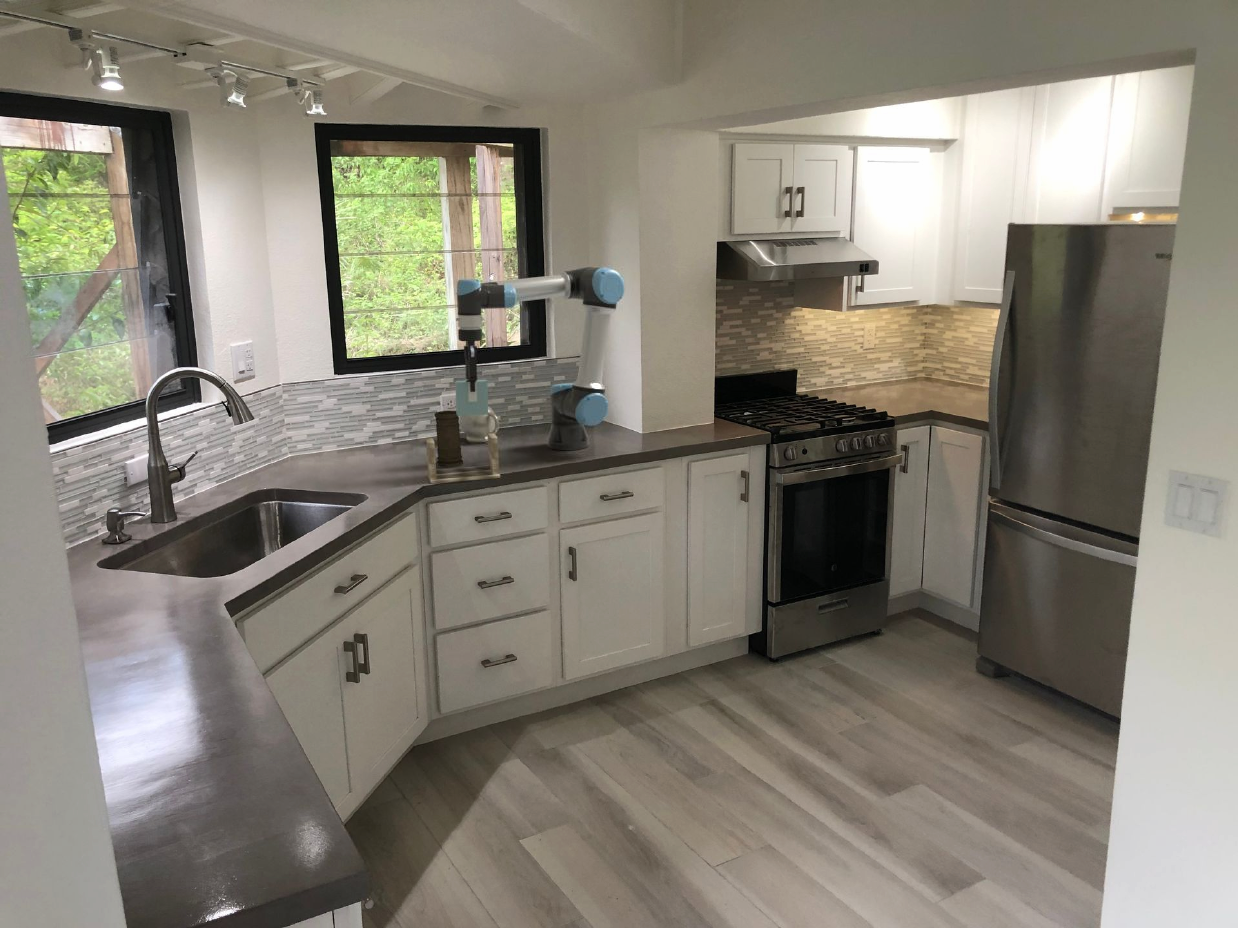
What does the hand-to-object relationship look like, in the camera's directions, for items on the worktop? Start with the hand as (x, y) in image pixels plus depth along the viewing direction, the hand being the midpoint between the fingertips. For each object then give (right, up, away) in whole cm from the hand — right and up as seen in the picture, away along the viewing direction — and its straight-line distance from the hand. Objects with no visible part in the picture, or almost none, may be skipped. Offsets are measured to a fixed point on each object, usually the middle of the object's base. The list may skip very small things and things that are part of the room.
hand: (472, 400), depth 316 cm
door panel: (0, -5, +1) cm, 5 cm away
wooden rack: (-2, -25, -2) cm, 25 cm away
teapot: (-4, -12, +48) cm, 50 cm away
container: (-10, -21, +14) cm, 27 cm away
